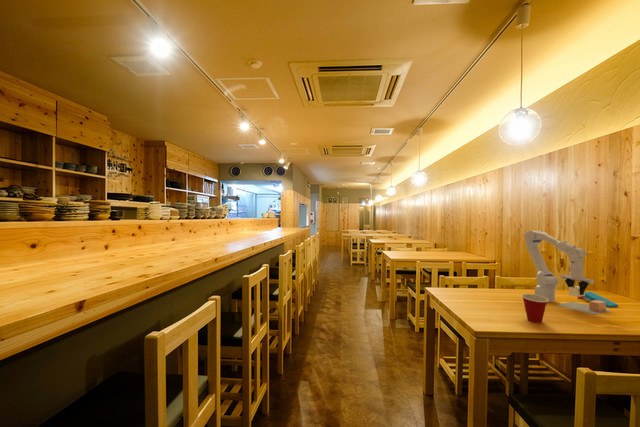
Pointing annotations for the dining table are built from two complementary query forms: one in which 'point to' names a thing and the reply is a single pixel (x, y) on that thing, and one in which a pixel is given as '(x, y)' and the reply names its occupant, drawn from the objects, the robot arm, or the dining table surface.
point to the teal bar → (594, 296)
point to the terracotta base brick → (597, 305)
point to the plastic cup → (534, 307)
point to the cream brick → (575, 291)
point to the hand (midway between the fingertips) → (576, 293)
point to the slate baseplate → (581, 308)
